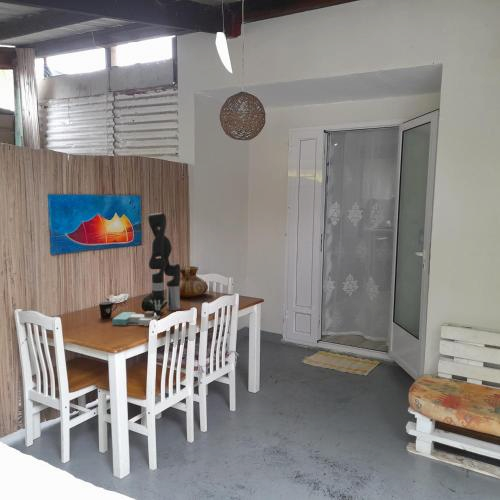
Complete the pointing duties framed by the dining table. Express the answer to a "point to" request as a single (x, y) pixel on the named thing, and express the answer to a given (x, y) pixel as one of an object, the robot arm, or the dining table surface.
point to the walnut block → (149, 314)
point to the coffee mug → (106, 309)
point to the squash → (146, 305)
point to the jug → (191, 283)
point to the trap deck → (133, 319)
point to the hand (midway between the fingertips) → (158, 315)
